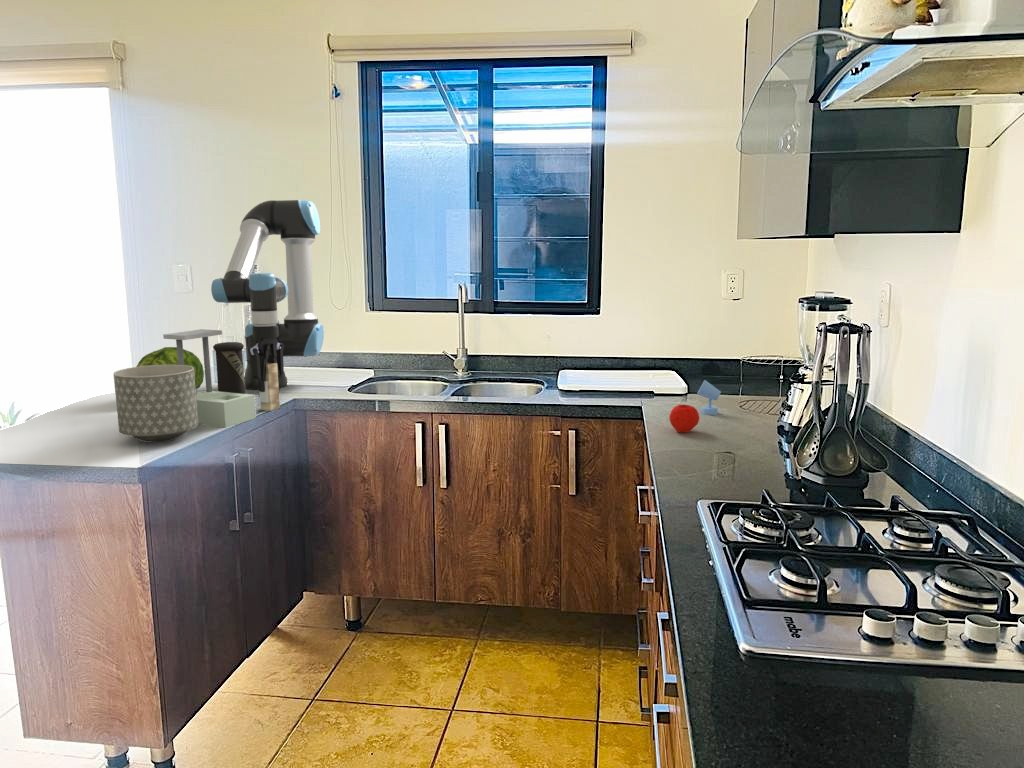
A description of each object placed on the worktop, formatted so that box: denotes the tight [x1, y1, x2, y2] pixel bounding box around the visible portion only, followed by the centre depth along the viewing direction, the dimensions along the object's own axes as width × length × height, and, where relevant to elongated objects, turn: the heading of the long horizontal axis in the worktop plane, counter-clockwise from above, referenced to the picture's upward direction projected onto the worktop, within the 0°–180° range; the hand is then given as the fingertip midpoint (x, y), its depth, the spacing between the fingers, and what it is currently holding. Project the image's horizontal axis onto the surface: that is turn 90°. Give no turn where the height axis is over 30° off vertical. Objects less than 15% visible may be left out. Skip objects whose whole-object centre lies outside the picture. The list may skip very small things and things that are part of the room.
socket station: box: [162, 328, 257, 428], centre depth 224 cm, size 20×14×25 cm
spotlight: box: [696, 379, 722, 416], centre depth 230 cm, size 5×10×7 cm
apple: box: [668, 404, 700, 434], centre depth 208 cm, size 8×8×7 cm
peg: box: [259, 363, 281, 412], centre depth 239 cm, size 4×4×14 cm
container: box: [212, 341, 247, 394], centre depth 244 cm, size 9×9×20 cm
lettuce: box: [135, 346, 205, 390], centre depth 251 cm, size 18×23×19 cm
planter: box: [113, 365, 199, 443], centre depth 203 cm, size 19×19×18 cm
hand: (269, 400), depth 240 cm, fingers closed on peg, 4 cm apart
